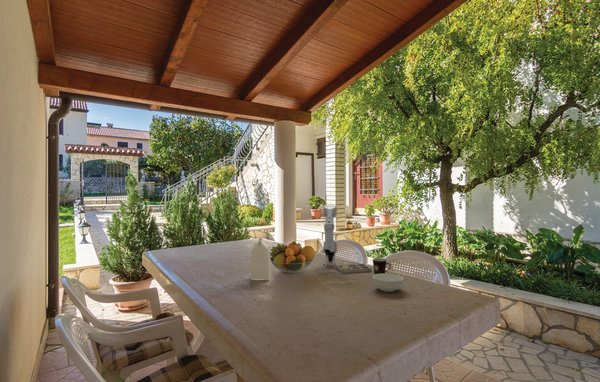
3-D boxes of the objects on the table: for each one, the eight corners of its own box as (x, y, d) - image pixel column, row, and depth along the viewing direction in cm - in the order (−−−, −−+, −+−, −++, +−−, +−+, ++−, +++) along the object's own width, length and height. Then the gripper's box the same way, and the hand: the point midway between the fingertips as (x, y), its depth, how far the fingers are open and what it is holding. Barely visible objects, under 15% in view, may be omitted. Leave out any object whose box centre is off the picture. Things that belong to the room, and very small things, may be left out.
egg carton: (336, 269, 228) (336, 265, 228) (364, 268, 231) (363, 263, 231) (342, 274, 214) (342, 270, 214) (371, 273, 218) (371, 268, 218)
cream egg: (341, 270, 220) (341, 261, 220) (347, 270, 221) (347, 261, 221) (343, 272, 216) (343, 263, 216) (349, 272, 217) (349, 263, 217)
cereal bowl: (405, 295, 171) (405, 281, 171) (372, 293, 174) (372, 280, 174) (402, 286, 188) (401, 273, 188) (372, 284, 191) (371, 272, 191)
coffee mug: (370, 274, 214) (370, 258, 214) (381, 273, 217) (381, 257, 217) (379, 278, 203) (379, 262, 203) (392, 277, 206) (391, 261, 206)
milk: (269, 280, 203) (268, 238, 202) (250, 280, 203) (249, 238, 203) (271, 275, 215) (270, 235, 214) (253, 275, 215) (253, 235, 215)
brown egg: (325, 262, 224) (325, 253, 224) (331, 262, 225) (331, 253, 225) (327, 263, 220) (327, 254, 220) (333, 263, 220) (333, 254, 220)
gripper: (321, 239, 229) (321, 258, 229) (326, 242, 214) (326, 263, 214) (330, 238, 230) (331, 258, 230) (336, 242, 215) (336, 262, 215)
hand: (329, 260), depth 222 cm, fingers closed on brown egg, 4 cm apart
